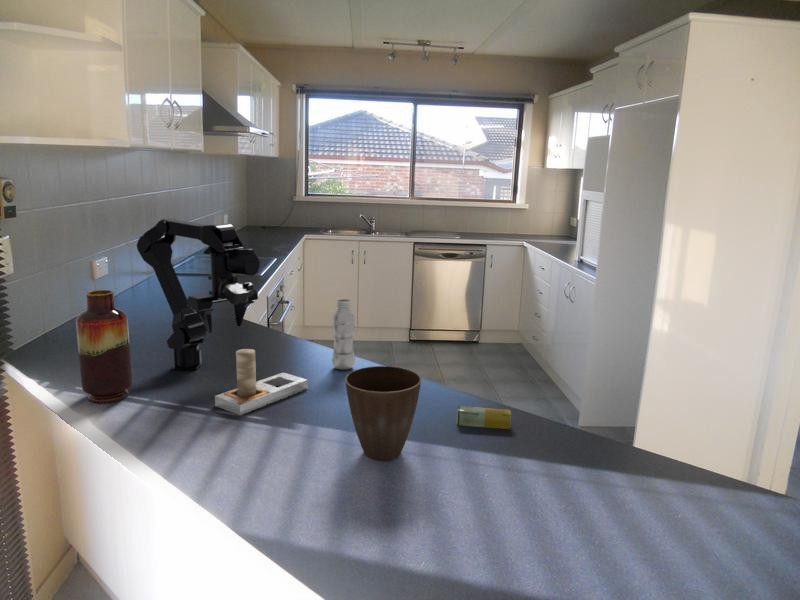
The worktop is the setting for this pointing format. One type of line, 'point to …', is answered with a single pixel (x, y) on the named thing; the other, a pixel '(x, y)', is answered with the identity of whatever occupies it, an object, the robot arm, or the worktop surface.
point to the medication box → (483, 417)
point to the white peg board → (262, 393)
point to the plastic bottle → (343, 336)
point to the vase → (104, 349)
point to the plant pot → (382, 408)
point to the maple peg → (246, 373)
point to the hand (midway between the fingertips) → (224, 329)
